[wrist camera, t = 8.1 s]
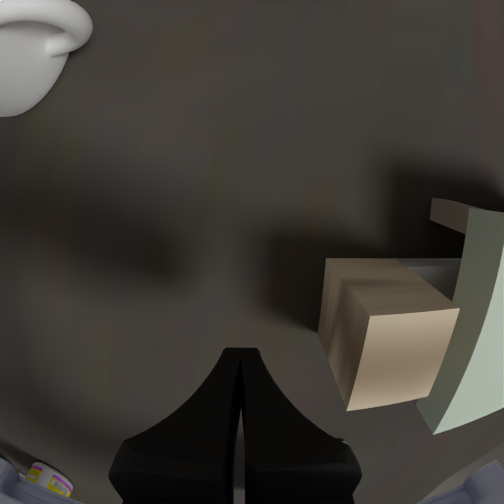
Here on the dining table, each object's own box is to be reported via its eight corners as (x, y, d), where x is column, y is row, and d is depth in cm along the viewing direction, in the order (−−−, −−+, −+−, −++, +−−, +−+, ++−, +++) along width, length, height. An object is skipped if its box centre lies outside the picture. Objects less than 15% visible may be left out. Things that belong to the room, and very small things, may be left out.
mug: (141, -4, 12) (69, -100, 2) (107, 115, 14) (-27, 86, 5) (11, 23, 11) (-75, -9, 2) (-16, 121, 14) (-118, 124, 4)
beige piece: (514, 310, 19) (561, 347, 12) (317, 333, 18) (346, 411, 12) (528, 257, 17) (582, 286, 11) (325, 257, 17) (370, 316, 10)
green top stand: (476, 356, 20) (517, 400, 13) (395, 372, 20) (433, 434, 13) (514, 209, 16) (577, 230, 10) (431, 197, 16) (507, 219, 9)
